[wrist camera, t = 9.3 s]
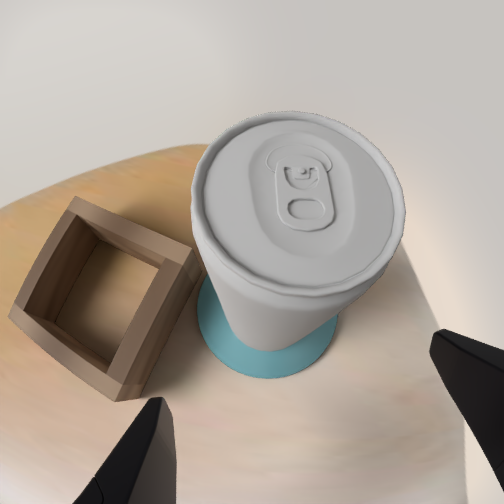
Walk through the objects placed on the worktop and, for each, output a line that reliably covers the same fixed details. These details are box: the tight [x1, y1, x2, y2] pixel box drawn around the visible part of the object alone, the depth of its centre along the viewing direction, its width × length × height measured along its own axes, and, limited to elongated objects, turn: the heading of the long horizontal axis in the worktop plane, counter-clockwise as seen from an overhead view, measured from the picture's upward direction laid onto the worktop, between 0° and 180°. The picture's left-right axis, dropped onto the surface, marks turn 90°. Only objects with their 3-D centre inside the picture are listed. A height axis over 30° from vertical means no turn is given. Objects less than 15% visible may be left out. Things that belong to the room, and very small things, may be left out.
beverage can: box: [191, 111, 406, 352], centre depth 12 cm, size 5×5×12 cm
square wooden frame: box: [8, 196, 202, 402], centre depth 16 cm, size 9×9×4 cm
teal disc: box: [197, 274, 338, 379], centre depth 18 cm, size 8×8×1 cm
